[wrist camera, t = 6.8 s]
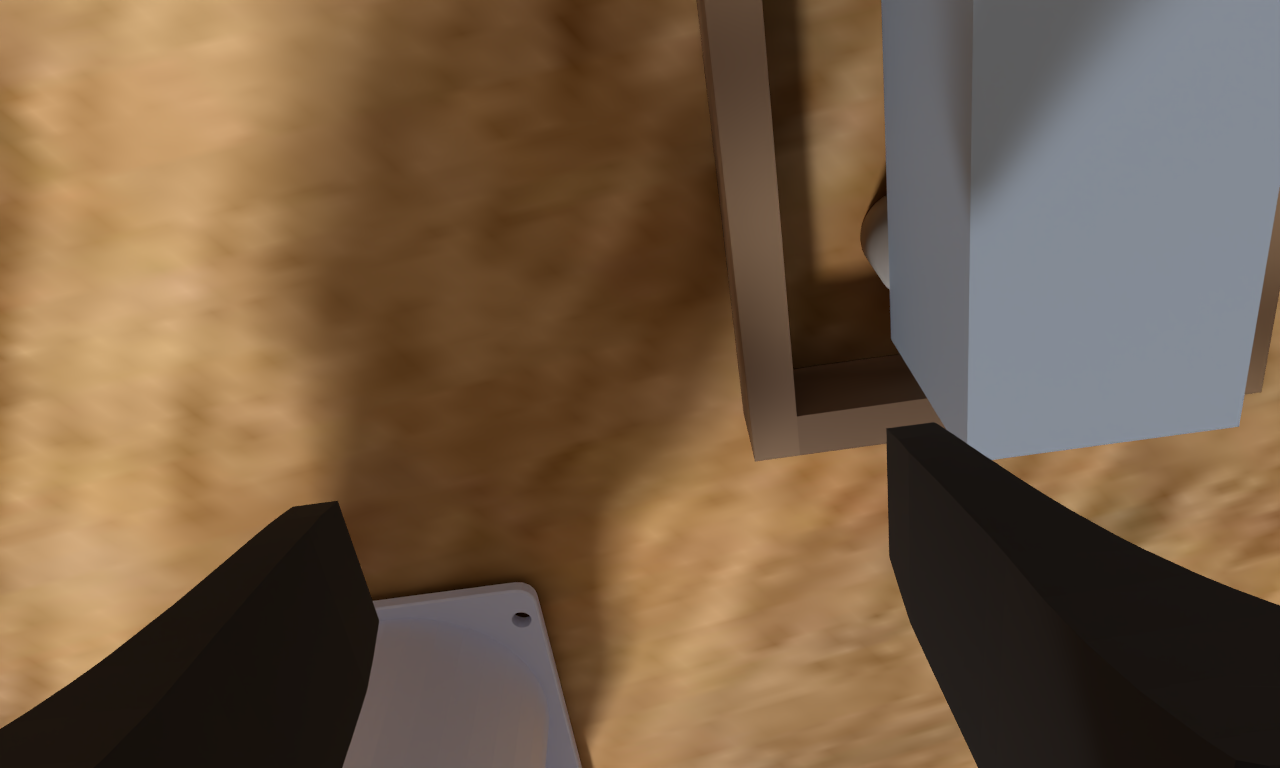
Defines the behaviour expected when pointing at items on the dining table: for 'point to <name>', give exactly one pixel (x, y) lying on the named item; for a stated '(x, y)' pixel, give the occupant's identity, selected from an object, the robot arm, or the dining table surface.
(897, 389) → the peg frame
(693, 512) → the dining table surface
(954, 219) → the blue-grey rectangular block
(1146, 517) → the dining table surface
